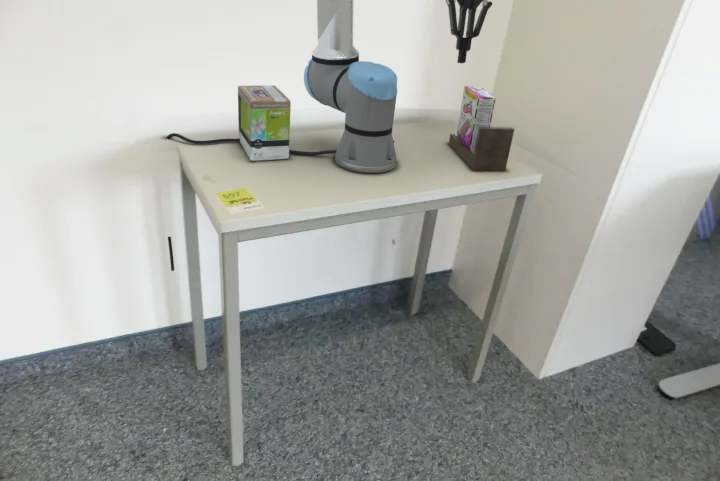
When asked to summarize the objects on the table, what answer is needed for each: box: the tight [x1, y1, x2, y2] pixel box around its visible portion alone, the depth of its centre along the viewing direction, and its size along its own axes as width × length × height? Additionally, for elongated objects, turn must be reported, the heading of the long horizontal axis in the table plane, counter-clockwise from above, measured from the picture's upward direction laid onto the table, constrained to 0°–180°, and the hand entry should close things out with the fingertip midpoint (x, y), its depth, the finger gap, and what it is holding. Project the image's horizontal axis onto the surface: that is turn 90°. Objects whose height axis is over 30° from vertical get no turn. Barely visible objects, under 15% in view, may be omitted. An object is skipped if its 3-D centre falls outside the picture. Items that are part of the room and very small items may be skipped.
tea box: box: [237, 85, 292, 162], centre depth 139 cm, size 15×10×15 cm
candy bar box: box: [456, 85, 497, 154], centre depth 150 cm, size 11×5×16 cm, turn 10°
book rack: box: [448, 126, 515, 172], centre depth 147 cm, size 9×20×11 cm, turn 10°
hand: (461, 62), depth 156 cm, fingers closed
